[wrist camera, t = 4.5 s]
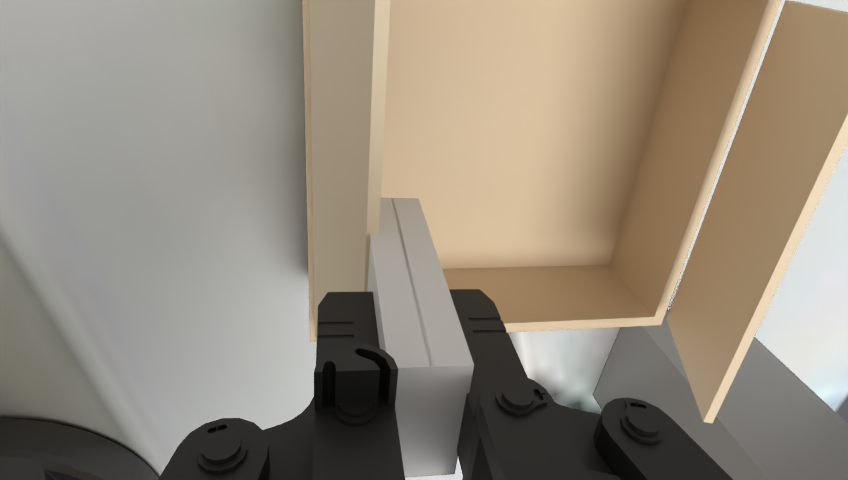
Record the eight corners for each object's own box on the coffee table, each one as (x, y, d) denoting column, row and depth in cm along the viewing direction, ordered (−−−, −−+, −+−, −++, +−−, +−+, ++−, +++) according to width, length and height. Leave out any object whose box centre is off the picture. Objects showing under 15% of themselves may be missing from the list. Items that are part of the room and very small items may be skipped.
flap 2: (703, 421, 19) (712, 423, 19) (890, 22, 13) (904, 24, 13) (666, 319, 24) (673, 320, 24) (785, 0, 18) (795, 1, 18)
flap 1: (322, 335, 21) (314, 337, 21) (319, -39, 15) (308, -40, 15) (367, 458, 16) (357, 461, 16) (391, -16, 10) (376, -17, 10)
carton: (310, 274, 27) (309, 341, 22) (303, -81, 19) (300, -83, 15) (611, 267, 30) (661, 325, 25) (702, -42, 22) (794, -34, 18)
